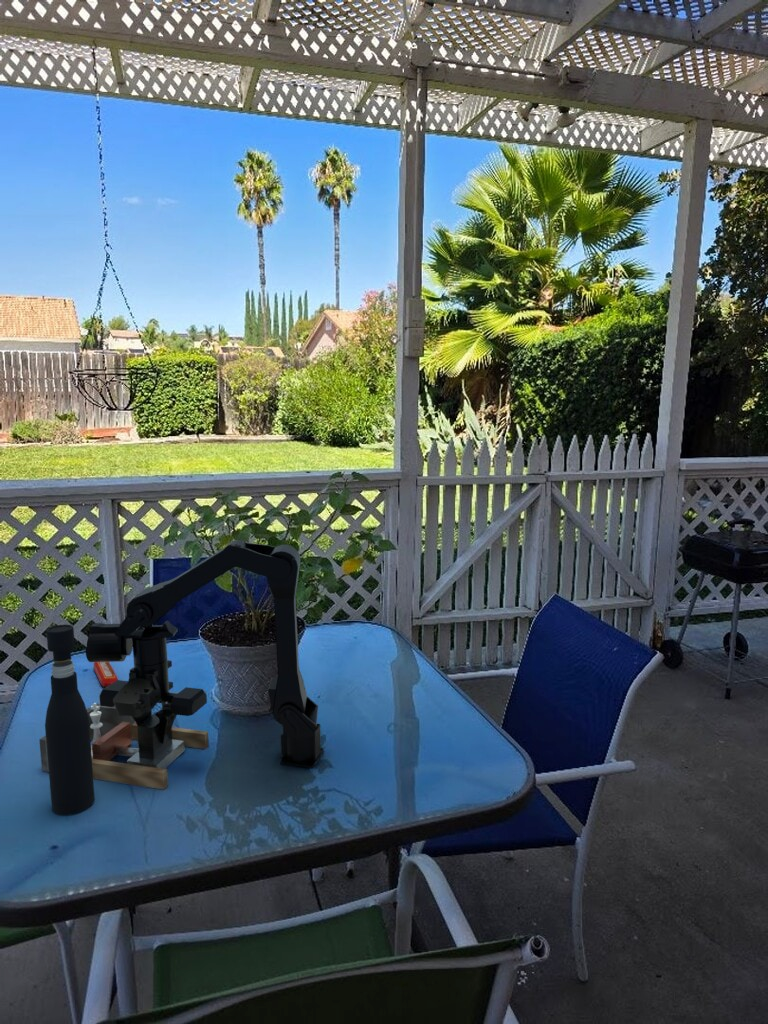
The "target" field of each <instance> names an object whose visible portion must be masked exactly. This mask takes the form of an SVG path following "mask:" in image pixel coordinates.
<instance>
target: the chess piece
mask: <svg viewBox="0 0 768 1024" xmlns="http://www.w3.org/2000/svg"><path fill="white" fill-rule="evenodd" d="M89 708H91V709H94V712H92V713H90V717H91V719H92V721H93V724H91V726H90V728H92V729H94V738H93V740H92V743H94V742H95V741H97V740H98V739H99V738H101V737H102V735H101V734H100V729H99V728H100V727H102V725H103V724H102V723H101V722H99V721H100V717H101V712H100V711H97V710H99V709H100V707H99V706H97V702H94V703H92V705H91V706H90V707H89ZM91 754H92V759H93V752H92V745H91Z"/></svg>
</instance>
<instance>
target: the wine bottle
mask: <svg viewBox="0 0 768 1024" xmlns="http://www.w3.org/2000/svg"><path fill="white" fill-rule="evenodd" d="M74 630H75V629H74V626H73V625H72V624H57V625H53V626H50V627H48V628H47V629H46V631H45V633H46V643H47V650H48V651H49V652H51V653H52V657H53V658H52V661H53V663H52V665H51V668H50V669H51V676H50V688H51V695H50V698H49V700H48V706H47V708H46V713H45V721H44V722H45V723H44V730H45V736H46V744H47V756H48V768H49V772H48V778H49V788H50V789H49V791H50V792H49V793H50V801H51V802H50V803H51V809H52V812H53V813H54V814H55V815H59V816H71V815H75V814H79V813H82V812H85V811H86V810H88V809H89V808H91V806H93V804H94V803H95V800H96V798H95V784H94V781H95V780H94V779H93V768H92V754H91V746H92V741H91V740H90V726H89V717H88V713H87V709H88V708H87V706H86V704H85V701H84V699H83V696H82V695H81V693H80V691H79V689H78V688H79V687H78V676H77V672H76V671H75V670H76V669H75V663H74V661H73V660H72V654H71V650H73V649H74V648H75V647H76V645H75V644H76V643H75V631H74Z"/></svg>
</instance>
